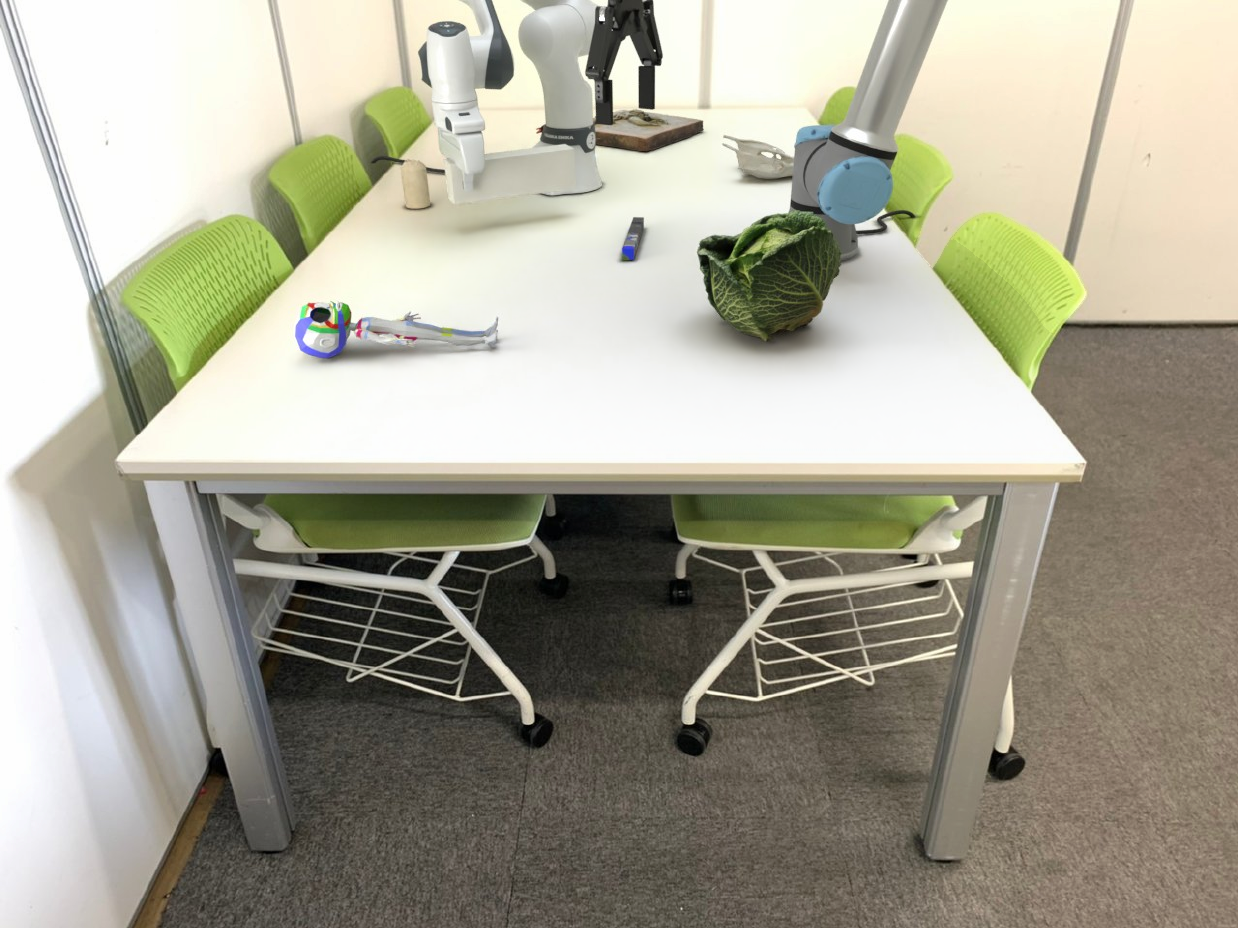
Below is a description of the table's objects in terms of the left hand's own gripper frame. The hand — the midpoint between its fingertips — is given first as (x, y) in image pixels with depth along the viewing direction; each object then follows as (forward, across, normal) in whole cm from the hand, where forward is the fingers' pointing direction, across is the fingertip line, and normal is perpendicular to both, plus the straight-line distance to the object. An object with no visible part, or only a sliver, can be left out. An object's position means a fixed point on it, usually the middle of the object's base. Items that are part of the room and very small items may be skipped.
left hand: (463, 186), depth 182 cm
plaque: (+9, -62, +68) cm, 93 cm away
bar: (+3, 0, +10) cm, 11 cm away
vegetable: (+9, +71, +28) cm, 76 cm away
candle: (+9, -22, -5) cm, 25 cm away
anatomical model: (+9, -6, +79) cm, 80 cm away
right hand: (-19, +43, +17) cm, 50 cm away
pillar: (+9, +24, +27) cm, 37 cm away
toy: (+9, +52, -26) cm, 59 cm away
